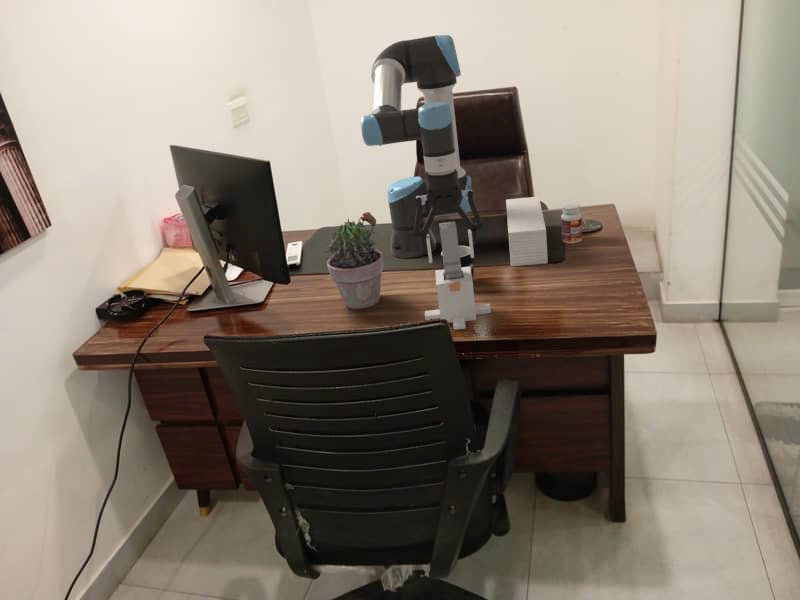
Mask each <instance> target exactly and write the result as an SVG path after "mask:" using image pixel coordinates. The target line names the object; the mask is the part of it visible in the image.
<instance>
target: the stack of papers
mask: <svg viewBox="0 0 800 600" xmlns="http://www.w3.org/2000/svg"><path fill="white" fill-rule="evenodd" d="M505 204H506V205H505V206H506V207H505V208H506V217H507V219H506V220H507V231H508V234H507V235H508V247H509V257H510V258H509V260H510V267H519V266H533V265H545V264H548V243H547V242H548V241H547V228H546V224H545V219H544V214H543V210H542V205H541V201H540V197H539V196H531V197H519V198H509V199H506V200H505Z"/></svg>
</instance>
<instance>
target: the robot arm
mask: <svg viewBox="0 0 800 600" xmlns="http://www.w3.org/2000/svg"><path fill="white" fill-rule="evenodd" d="M461 75H462V72H461V68H460V63H459V59H458V55H457V50H456V46H455V43H454V38H453V37H452V36H451V35H449V34H438V35H437V34H435V35H432V36H425V37H419V38H413V39H406V40H400V41H396V42H394V43H392V44H390V45H389V46H387V47H386V48H385V49H383V50H382V52H380V53H379V55H378V56H377V57H376V58H375V60H374V62H373V64H372V67H371V75H370V76H371V81H372V83H373V90H372V92H373V93H372V101H371V102H372V103H371V104H372V105H371V111H370V112H371V113H369V114H366V115H363V116H362V117H361V119H360V128H361V134H362V135H361V136H362V141H363V142H364V144H365V145H366V146H367V147H373V146H379V147H382V146H384V145H391V144H398V143H406V142H414V141H421V144H422V145H421V146H422V151H423V152H422V154H423V162H424V169H425V172H426V173H425V174H426V175H425V178H426V180H424V179H423V178H422V177H421V176H418V175H417V176H408V177H404V178H402V179H398V180H397V181H395V182H393V183H391V184H390V185H389V186H388V188H387V203H388V207H389V213H390V214H389V215H390V218H391V219H390V220H391V226H392V231H391V238H390V246H389V249H390V254H391V256H394V257H396V258H401V259H410V258H411V259H412V258H417V257H418V258H419V257H422V256H425V255H428V256H427V257H428V262H429V264H432V263H433V254H432V252H433V251H435V250H436V249H437V242H436V241H437V240H436V238H435V236H434V234H433V231H432V230H431V229H430V228H431V226H432V223H433V221H434V219H435V218H437V217H438V218H439V217H449V216H457V215H459V216H460V217H461V219H462V220H463V222H464V223H465V224H466V226H467V227H468V228H469V229H467V233H468V234H467V235H468V242H469V243H468V244H469V247H470V255H471V258H475V254H474V253H475V252H474V245H475V244H477V243H478V236H477V232H478V230H480V229H483V228H484V224H483V221H482V218H481V216H480V213H479V211H478V207H477V206H476V203H475V201H474V191H473V189H472V178H471V176H470V175H467V172H466V170H465V169H464V168H463V167H461V163H460V152H459V143H458V133H457V125H456V124H457V122H456V114H455V113H456V112H455V103H454V94H453V89H454V87H455V86H456V85H457V82H458V81H457V78H458V77H460V76H461ZM409 83H416V86H417V90H419V91H420V92H421V93H422V94H423V102H424V104H422V105H421V106H419V107H417V108H410V109H402V86H403V84H409ZM470 210H471V212H472V215H473V217H474V219H475V223H474V221H472V219H471V217H469V216H468V214H467V213H468V212H469V211H470Z"/></svg>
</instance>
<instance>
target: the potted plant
mask: <svg viewBox="0 0 800 600" xmlns="http://www.w3.org/2000/svg"><path fill="white" fill-rule="evenodd" d="M364 222H367V223H368V224H369V225H371V230H369V229H367V227H365V226H364ZM376 224H377V220H376V218H375V216H373V215H372V213H370V211H367V212H366V211H365V212H363V213H362V216H360V217H359V219H358V222H357V223H356V222H355V221H351V222H350V219H349V218H347V222H346V221H344V224H341V225H337V226H335V227H336V228H334V232H333V233H331V239H332V241H331V242H329V243H327V244H326V245H324V246H327V245H329V244H330V245H329V247H327V248H326V249H324V250H323V251H321V254H322V255H323V254H326V253H328V252H330V253H332V254H331V255H330V256H329V258H328V260H327V261H326V266H327V269H328V272H329V275H330V279H332V280H333V281H334V283H335V286H336V288H337V289H338V292H339V294H340V296H341V298H342V300H343V302H344V305H345V306H346V307H347V309H348V308H349V309H351V310H363V309H367V308H368V309H369V308H371V307H373V306H375V305H376V304H378V303H379V301H380V299H381V298H380V297H381V283H382V272H383V271H384V269H385V268H384V267H385V265H384V259H385V258H387V257H383V252H382V251H381V250H379V249H377V248H375V247H374V245H378V244H379V243H376V242H374V241H373V239H371V236H372V234H378V235H379V233H377V232H374V231H373V229H374V227H375V226H376ZM372 246H373V247H372ZM324 251H325V252H324ZM323 252H324V253H323ZM326 266H325V264H324V265H321V266H320V268H322V267H323V269H325V267H326Z"/></svg>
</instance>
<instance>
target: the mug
mask: <svg viewBox="0 0 800 600" xmlns="http://www.w3.org/2000/svg"><path fill="white" fill-rule="evenodd" d="M458 248H459V255H460V261H461V267H469V266H470V269H471V275H472V280H473V281H474V275H475V274H474V272H475V261H474V258H475V257H474V258H471V255H470V246H467V245H458ZM440 257H441V258H440V260H441V263H442V270H444V265H443V252H442V251H441V253H440Z"/></svg>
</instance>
